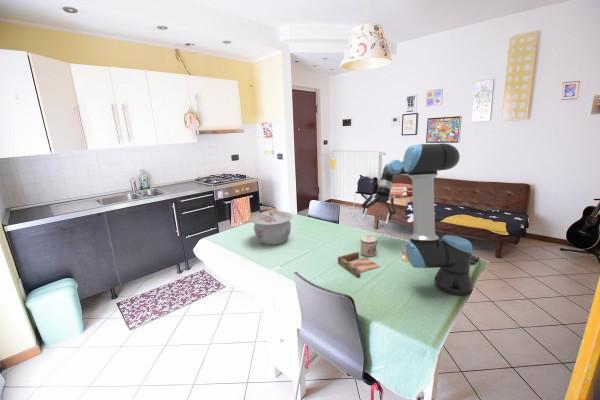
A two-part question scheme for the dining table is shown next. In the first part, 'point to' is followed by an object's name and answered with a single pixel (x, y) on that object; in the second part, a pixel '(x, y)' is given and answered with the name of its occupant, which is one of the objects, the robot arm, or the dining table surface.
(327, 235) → the dining table surface
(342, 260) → the low wooden tray
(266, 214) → the chamber pot
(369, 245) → the teacup with lid
